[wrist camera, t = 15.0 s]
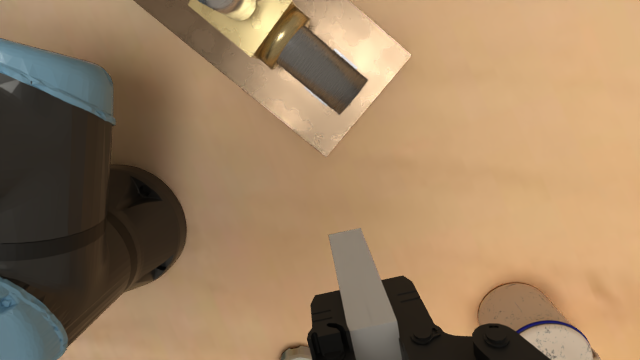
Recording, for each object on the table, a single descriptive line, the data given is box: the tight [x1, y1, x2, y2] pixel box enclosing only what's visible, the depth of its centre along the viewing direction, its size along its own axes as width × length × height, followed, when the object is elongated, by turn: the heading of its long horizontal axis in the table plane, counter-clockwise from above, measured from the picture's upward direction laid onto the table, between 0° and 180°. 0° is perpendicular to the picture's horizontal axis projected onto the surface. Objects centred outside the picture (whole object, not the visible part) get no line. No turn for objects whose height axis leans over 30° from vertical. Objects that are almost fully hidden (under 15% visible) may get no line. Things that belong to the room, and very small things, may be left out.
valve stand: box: [134, 0, 411, 157], centre depth 39 cm, size 30×14×8 cm, turn 51°
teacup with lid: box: [478, 283, 601, 360], centre depth 44 cm, size 12×9×12 cm
